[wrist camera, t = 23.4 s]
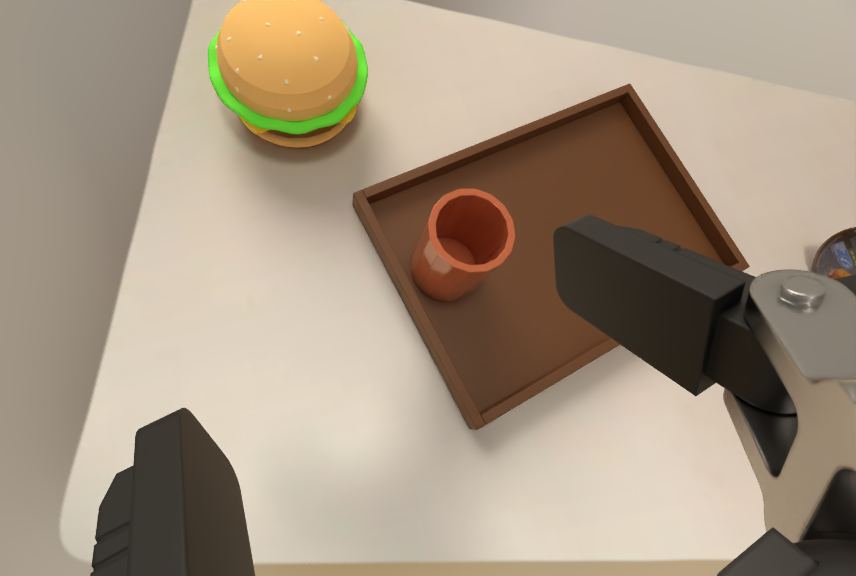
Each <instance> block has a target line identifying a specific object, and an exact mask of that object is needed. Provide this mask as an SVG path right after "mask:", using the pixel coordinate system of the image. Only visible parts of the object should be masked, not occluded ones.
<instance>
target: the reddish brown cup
mask: <svg viewBox="0 0 856 576" xmlns="http://www.w3.org/2000/svg"><path fill="white" fill-rule="evenodd" d="M514 241H515V230H514V223H513V219H512V217H511V216H510V214H509V212H508V211H507V209H506V207H505V206H504V205H503V204H502V203H501V202H500V201H499V200H498V199H496V198H495V197H494V196H493V195H491V194H489V193H486V192H483V191H480V190H478V189H457V190H455V191H453V192H450V193H448V194H446V195H444V196H443V197H442V198H441V199H440V200H439V201H438V202H437V203H436V204H435V205H434V206H433V208H432V210H431V213H430V215H429V217H428V219H427V222H426V224H425V226H424V228H423V231H422V233H421V235H420V237H419V240H418V242H417V244H416V246H415V249H414V252H413V255H412V258H411V264H410V265H411V274H412V277H413V280H414V282H415V283H416V285H417V286H418V288H419V289H420V290H421V291H422V292H423V293H424V294H426V295H427V296H429V297H431V298H433V299H435V300H439V301H455V300H458V299H461V298H463V297H464V296H466V295H467V294H469V293H470V292H472V291H473V290H474V289H475V288H476V287H477V286H478V285H479V284H480V283H481V282H483V281H484V280H485V279H486V278H487V277H488V276H489V275H490V274H491V273H492V272H494V271H495V270H496V269H497V268H498V267H499V266H500V265H501V264H502V263H503V262H504V261H505V259H506V258H507V257H508V256H509V255H510V253H511V252H512V248H513V244H514Z"/></svg>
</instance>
